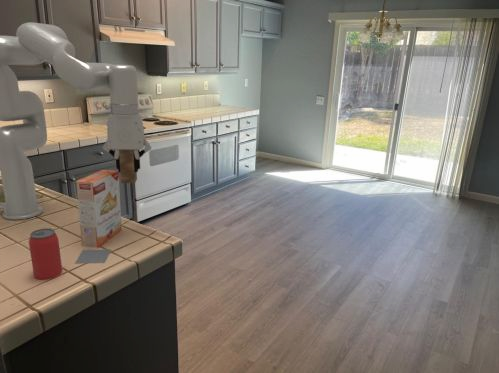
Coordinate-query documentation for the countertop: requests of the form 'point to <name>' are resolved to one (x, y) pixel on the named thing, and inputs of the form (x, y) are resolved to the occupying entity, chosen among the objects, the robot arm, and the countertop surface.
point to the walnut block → (127, 166)
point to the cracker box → (99, 207)
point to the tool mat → (93, 256)
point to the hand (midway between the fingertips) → (128, 170)
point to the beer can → (45, 254)
